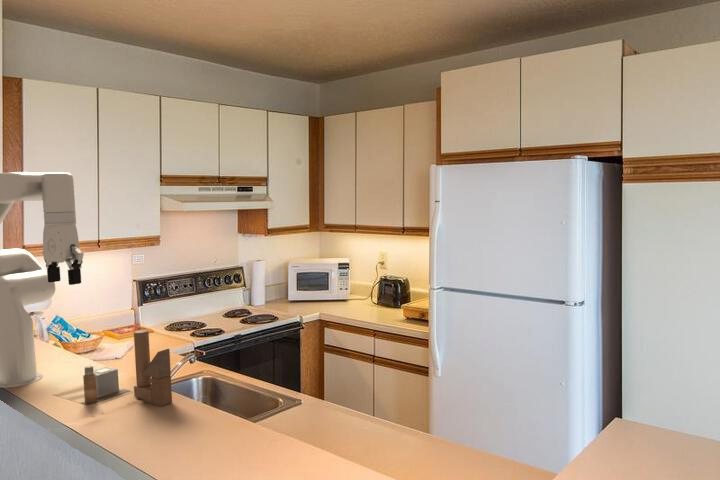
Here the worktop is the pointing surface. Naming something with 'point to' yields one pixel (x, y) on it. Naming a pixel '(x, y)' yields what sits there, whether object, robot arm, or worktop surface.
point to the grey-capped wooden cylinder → (90, 385)
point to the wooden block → (151, 372)
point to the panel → (78, 396)
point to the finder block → (106, 380)
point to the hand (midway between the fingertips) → (64, 282)
